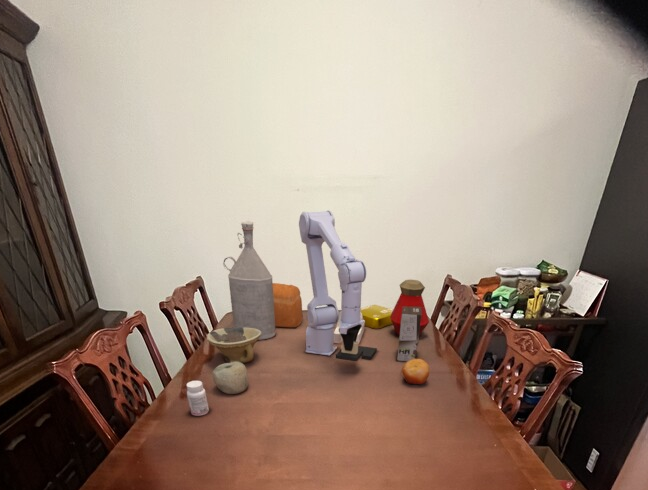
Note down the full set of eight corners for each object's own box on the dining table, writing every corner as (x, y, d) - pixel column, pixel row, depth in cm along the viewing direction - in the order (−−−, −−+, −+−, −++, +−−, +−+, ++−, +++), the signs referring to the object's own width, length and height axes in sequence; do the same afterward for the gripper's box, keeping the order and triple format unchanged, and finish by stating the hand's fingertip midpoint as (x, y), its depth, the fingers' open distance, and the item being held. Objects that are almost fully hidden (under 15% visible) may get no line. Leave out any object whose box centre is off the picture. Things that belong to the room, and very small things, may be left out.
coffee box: (415, 362, 139) (421, 314, 131) (396, 360, 140) (401, 313, 132) (416, 352, 147) (422, 306, 138) (398, 350, 148) (402, 305, 139)
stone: (258, 369, 125) (243, 356, 116) (248, 401, 124) (232, 391, 114) (229, 364, 128) (212, 351, 119) (220, 396, 127) (202, 385, 117)
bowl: (274, 359, 142) (272, 332, 137) (231, 375, 131) (227, 346, 126) (242, 346, 152) (239, 320, 147) (200, 360, 141) (195, 333, 136)
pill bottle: (192, 407, 114) (186, 380, 109) (210, 407, 114) (205, 379, 109) (189, 416, 110) (183, 388, 105) (207, 415, 110) (202, 387, 105)
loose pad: (335, 358, 130) (335, 344, 127) (344, 348, 137) (344, 334, 134) (356, 361, 128) (357, 347, 125) (365, 351, 135) (365, 337, 132)
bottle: (434, 336, 160) (442, 283, 149) (409, 344, 154) (415, 288, 143) (406, 325, 171) (411, 274, 160) (381, 332, 164) (384, 279, 154)
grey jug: (237, 328, 168) (224, 219, 146) (279, 330, 166) (272, 219, 145) (227, 339, 157) (211, 223, 136) (272, 341, 156) (263, 224, 134)
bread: (296, 329, 167) (294, 289, 158) (234, 325, 171) (230, 286, 162) (304, 318, 178) (303, 280, 170) (246, 315, 182) (242, 278, 174)
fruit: (430, 371, 130) (432, 355, 123) (426, 392, 127) (427, 377, 120) (405, 368, 132) (404, 352, 125) (399, 388, 129) (399, 374, 122)
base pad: (342, 355, 144) (343, 352, 144) (349, 347, 151) (350, 344, 150) (370, 359, 141) (371, 356, 141) (376, 351, 148) (376, 348, 147)
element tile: (373, 313, 184) (374, 302, 182) (400, 321, 175) (401, 310, 172) (349, 321, 176) (350, 309, 173) (376, 329, 167) (377, 318, 164)
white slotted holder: (332, 342, 155) (333, 314, 149) (341, 327, 169) (341, 300, 163) (358, 344, 153) (359, 315, 147) (364, 328, 168) (365, 301, 162)
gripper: (356, 313, 116) (354, 359, 123) (370, 300, 127) (368, 342, 135) (333, 311, 118) (332, 355, 125) (348, 298, 129) (347, 339, 137)
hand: (349, 348), depth 130 cm, fingers closed on loose pad
